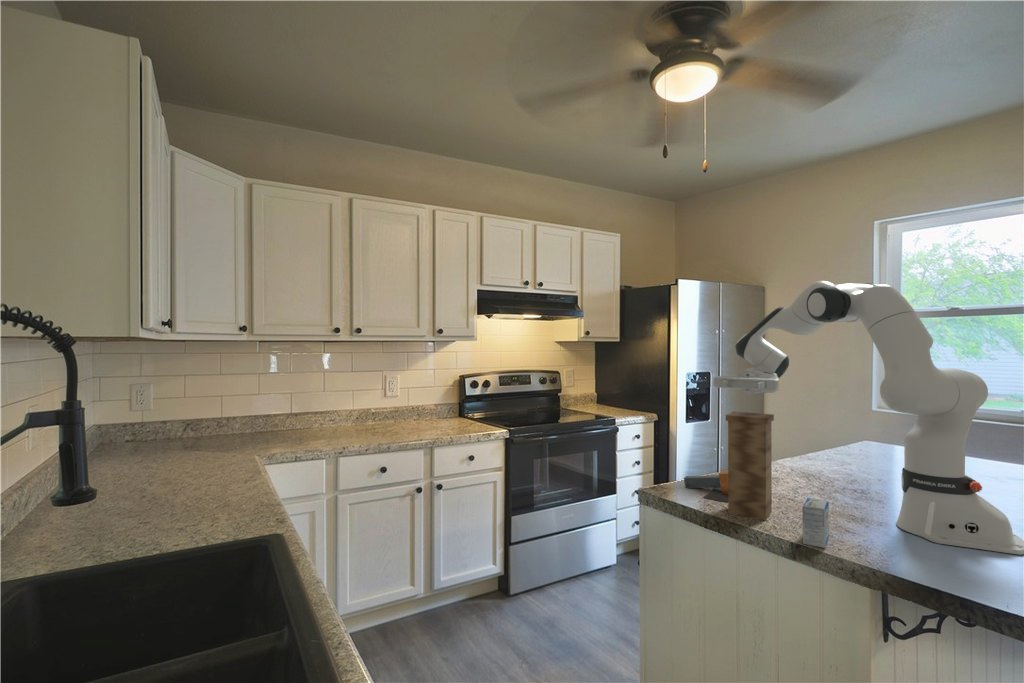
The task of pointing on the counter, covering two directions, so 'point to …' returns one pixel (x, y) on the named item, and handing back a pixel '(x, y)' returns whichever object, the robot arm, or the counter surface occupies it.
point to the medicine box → (815, 522)
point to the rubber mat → (717, 495)
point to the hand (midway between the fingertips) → (741, 385)
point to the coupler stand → (749, 464)
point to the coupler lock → (708, 481)
